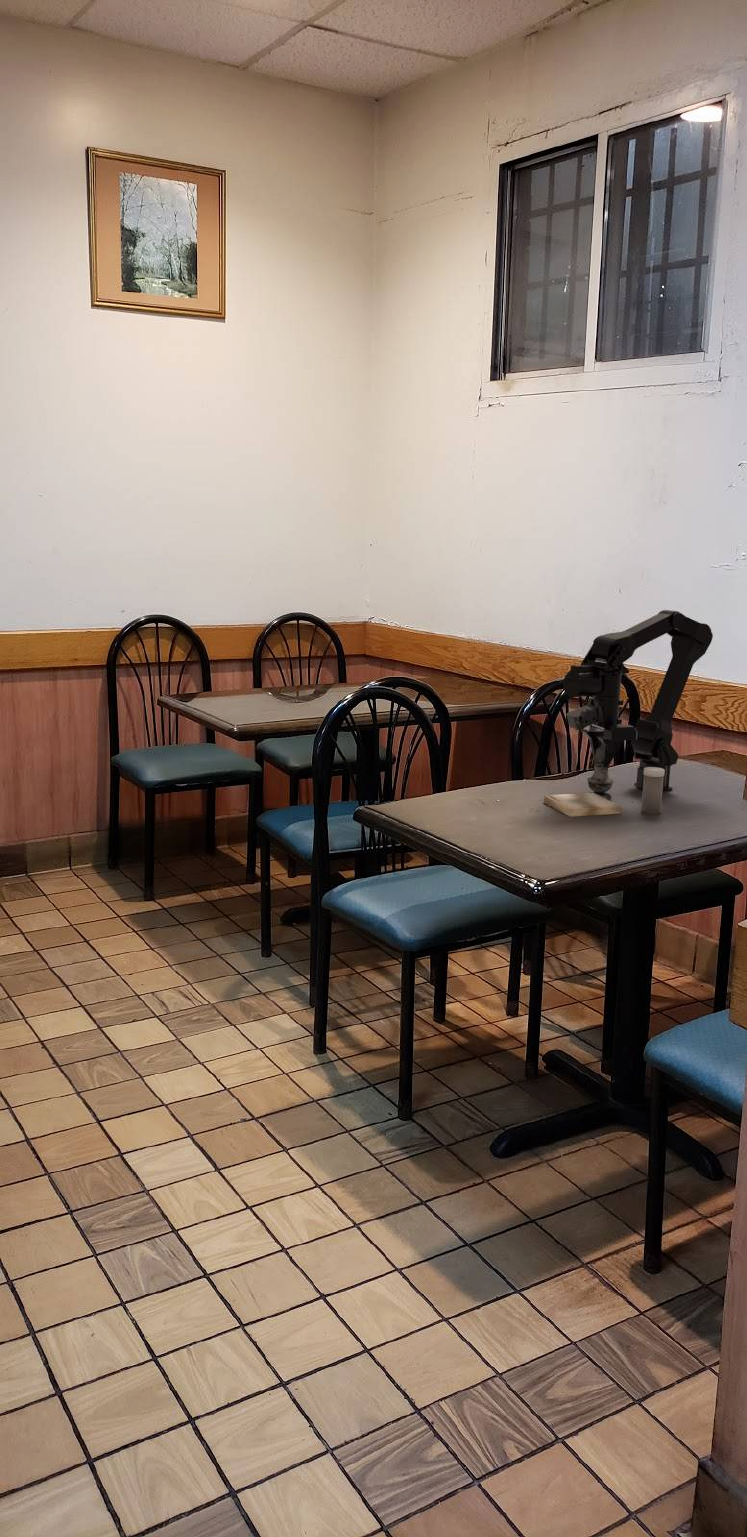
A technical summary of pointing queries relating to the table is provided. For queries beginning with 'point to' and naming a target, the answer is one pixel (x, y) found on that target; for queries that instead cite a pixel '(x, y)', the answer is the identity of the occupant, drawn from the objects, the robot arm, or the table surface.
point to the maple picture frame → (582, 804)
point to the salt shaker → (600, 776)
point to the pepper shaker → (652, 790)
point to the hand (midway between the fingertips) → (601, 764)
